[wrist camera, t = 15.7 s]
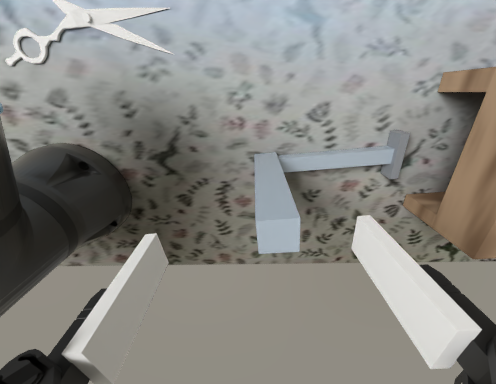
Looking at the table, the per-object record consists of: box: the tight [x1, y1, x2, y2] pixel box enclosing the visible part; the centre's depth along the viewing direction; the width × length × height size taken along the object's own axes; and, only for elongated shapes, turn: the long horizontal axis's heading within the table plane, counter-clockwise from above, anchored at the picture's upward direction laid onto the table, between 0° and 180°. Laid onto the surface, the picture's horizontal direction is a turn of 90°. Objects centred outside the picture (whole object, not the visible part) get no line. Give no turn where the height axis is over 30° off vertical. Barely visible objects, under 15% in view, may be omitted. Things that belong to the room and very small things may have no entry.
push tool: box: [255, 130, 410, 254], centre depth 20 cm, size 19×6×16 cm, turn 96°
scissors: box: [5, 0, 173, 66], centre depth 21 cm, size 11×1×20 cm
